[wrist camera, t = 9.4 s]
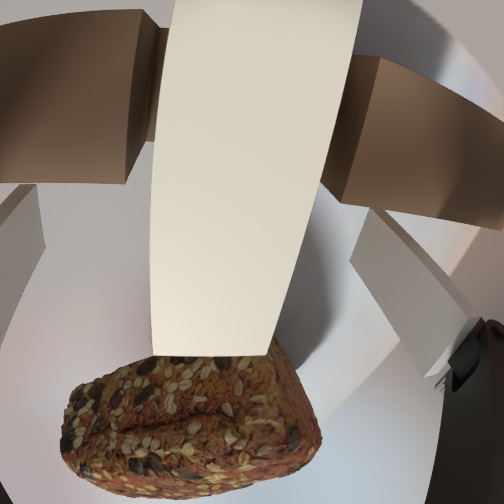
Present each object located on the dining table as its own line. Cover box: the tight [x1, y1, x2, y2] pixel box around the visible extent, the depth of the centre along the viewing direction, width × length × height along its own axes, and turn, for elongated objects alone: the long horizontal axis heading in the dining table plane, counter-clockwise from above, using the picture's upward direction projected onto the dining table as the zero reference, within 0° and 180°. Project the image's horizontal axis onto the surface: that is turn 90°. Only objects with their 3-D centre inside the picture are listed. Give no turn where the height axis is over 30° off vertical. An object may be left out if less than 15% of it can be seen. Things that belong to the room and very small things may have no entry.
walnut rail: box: [0, 9, 504, 231], centre depth 10 cm, size 4×22×8 cm, turn 80°
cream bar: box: [150, 0, 363, 356], centre depth 10 cm, size 16×4×8 cm, turn 170°
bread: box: [60, 336, 322, 500], centre depth 21 cm, size 19×11×10 cm, turn 114°
